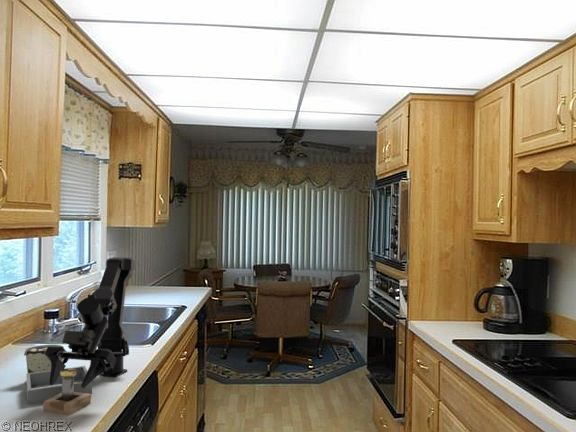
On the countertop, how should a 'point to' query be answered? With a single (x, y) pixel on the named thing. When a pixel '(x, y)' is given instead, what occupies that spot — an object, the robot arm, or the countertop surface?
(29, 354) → the food container
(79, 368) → the tray
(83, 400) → the socket block
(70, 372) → the pin
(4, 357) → the countertop surface
